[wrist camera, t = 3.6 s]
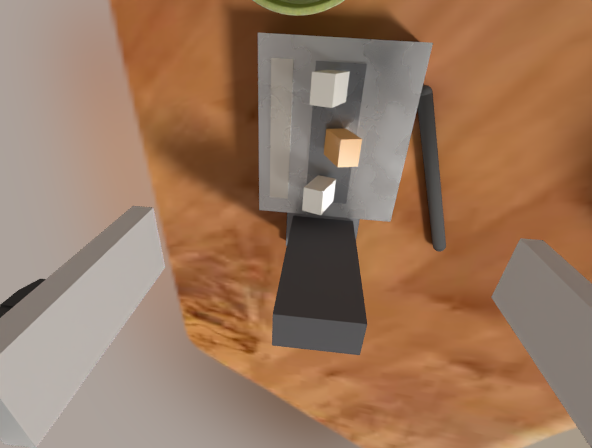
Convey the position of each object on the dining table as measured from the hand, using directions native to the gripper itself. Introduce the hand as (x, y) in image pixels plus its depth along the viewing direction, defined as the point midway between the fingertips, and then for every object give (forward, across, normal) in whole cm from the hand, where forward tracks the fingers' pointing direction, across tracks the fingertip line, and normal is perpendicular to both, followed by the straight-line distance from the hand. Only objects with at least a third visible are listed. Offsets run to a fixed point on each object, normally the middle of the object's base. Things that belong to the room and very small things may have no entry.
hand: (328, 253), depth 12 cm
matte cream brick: (+15, 0, -4) cm, 16 cm away
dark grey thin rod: (+18, +10, -3) cm, 21 cm away
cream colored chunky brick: (+15, 0, +4) cm, 16 cm away
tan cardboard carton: (+15, 0, 0) cm, 15 cm away
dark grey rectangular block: (+19, 0, -10) cm, 21 cm away
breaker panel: (+18, 0, 0) cm, 19 cm away
